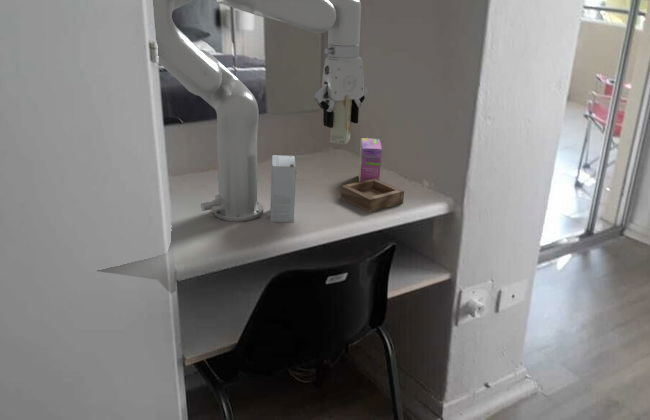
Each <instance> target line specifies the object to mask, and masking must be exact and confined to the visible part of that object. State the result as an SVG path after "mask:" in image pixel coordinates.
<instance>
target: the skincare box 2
mask: <svg viewBox="0 0 650 420" xmlns="http://www.w3.org/2000/svg"><path fill="white" fill-rule="evenodd" d="M351 106H352V100H349V96H348V95H346V96H345V99H344V101H341V102H335V104H334V106H333V109H332V112H333V113H334V119H333V128H329V132H330V133H329V143H330V144H338V145H339V144H340V145H347V144H348V143H349V141H350V139H351V128H352V127H351V124H352V122H351Z"/></svg>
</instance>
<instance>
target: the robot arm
mask: <svg viewBox="0 0 650 420" xmlns="http://www.w3.org/2000/svg"><path fill="white" fill-rule="evenodd" d="M192 1H194V0H153V6H154V17H155V28H156V40H157V44H158V56H159V63H158V64H159V65H161V66H162V68H164V69H165V70H166V71H167V72H168V73H169V74H170V75H171V76H173V78H175V79H176V80H177V81H178V83H180V84H181V85H182V86H183V87H184V88H185V89H186V90H187V91H188V92H190V94H191V93H192V94H193V95H195V96H199V97H200V98H201V99H203V100H204V101H205V102H206V103H208V104H209V106H211V107H212V108H213V109H214V110H215V112H216V123H217V124H216V125H217V126H216V143H217V146H216V147H217V148H216V149H217V150H216V151H217V152H216V153H217V173H218V175H217V176H218V178H217V181H218V194H216V195H214V199H212V200H211V201H209V202H208V201H206V202H203V203H200V209H201V211H202V212H205V211H209V210H210V212H211V213H212V214H213V215H214V216H215V217H217V218H218V219H221V220H224V221H228V222H246V221H252V220H254V219H257V218H259V217H261V216H262V215H263V214H264V206H263V204H262V203H260V202H259V201H258V127H259V119H260V118H259V116H260V115H259V112H260V111H259V106H258V102H257V99H256V98H255V97H256V96H255V95H254V94H253V93H252V92H251V91H250V89H249V88H248V87H247V86H246V85H245V84H244V82H242V81H241V80H240V79H239V78H238V77H236V75H235V74H233V73H232V71H230V70H229V69H228V68H227V67H226V66H225V65H223V63H222V62H221V61H219V60H218V59H217V58H216V57H215V56H214V55H213V54H211V53H210V52H208V51H207V50H205V49H201V48H199V47H198V46H197V45H196V44H195V43H194V42H193V41H192V40H191V39H190V38H189V37H188V36H187V35H186V34H184V32H182V31H181V30H180V29H179V28H178V27H177V26H176V24H175V22H174V21H173V17H172V16H173V12H174V11H175V10H177V9H179V8H182V7H183V6H185V5H187V4H188V3H191V2H192ZM210 1H211V2H214V3H218V4H222V5H224V6H227V7H230V8H233V9H237V10H240V11H241V12H246V13H249V14H251V15H255V16H257V17H262V18H267V19H271V20H275V21H277V22H278V21H279V22H281V23H284V24H287V25H290V26H294V27H296V28H299V29H303V30H305V31H308V32H312V33H315V34H324V33H326V32H327V47H326V48H325V49H324V54H325V55H327V57H326V58H325V60H324V65H323V71H322V80H321V81H322V82H321V88H319V90H317V92H316V93H315V94H314V95H313V98H314V100H315V102H317V105H318V106H319V107H320V108H321V110H323V116H322V117H323V119H322V120H323V122H322V123H323V126H324V127H327V128H329V129H330V128H333V119H334V113H333V112H332V109H333V106H334V104H335V102H341V101H344V99H345V96H346V95H348V96H349V100H352V106H351V123H353V124H358V123H359V115H360V114H359V113H360V111H359V109H360V108H361V107H362V103H363V102H364V100H365V99H366V96H367V95H368V92H370V91H369V89H368V88H367V86H366V85H365V82H364V81H365V78H364V66H363V59H362V57H360V42H361V41H360V39H361V36H360V35H361V22H362V21H361V19H362V18H361V17H362V16H361V15H362V3H361V0H210Z"/></svg>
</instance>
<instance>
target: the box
mask: <svg viewBox="0 0 650 420" xmlns="http://www.w3.org/2000/svg"><path fill="white" fill-rule="evenodd" d="M382 155H383V148H382V142H381V140H380V138H369V137H365V138H364V137H362V138H361V137H360V148H359V162H358V175H357V176H358V182H360V181H364V180H368V179H373V178H375V179H378V180H380V178H381V165H382Z"/></svg>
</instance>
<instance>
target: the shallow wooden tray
mask: <svg viewBox="0 0 650 420" xmlns="http://www.w3.org/2000/svg"><path fill="white" fill-rule="evenodd" d="M340 188H341V189H340V199H342V200H344V201H346V202H349V203H350V204H353V205H355V206H357V207H359V208H361V209H362V210H364V211H366V212H369V213H372V212H377V211H379V210H383V209H387V208H389V207H394V206H398V205H402V204H404V198H405V191H404V190H403V189H401V188H398V187H396V186H394V185H391V184H389V183H386V182H385V181H382V180H380V179H379V180H378V179H375V178H373V179H368V180H364V181H360V182H359V181H356V182H351V183H348V184H342V185H341V187H340Z"/></svg>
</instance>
